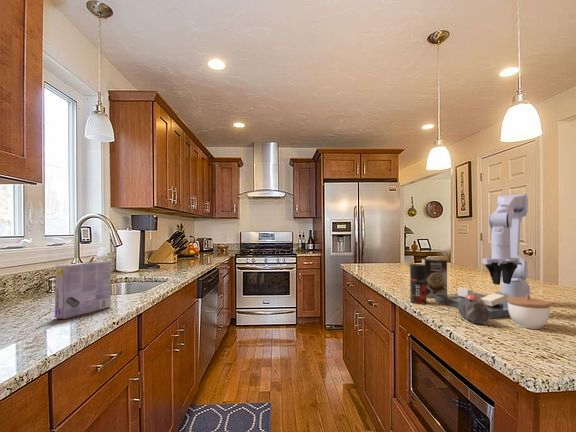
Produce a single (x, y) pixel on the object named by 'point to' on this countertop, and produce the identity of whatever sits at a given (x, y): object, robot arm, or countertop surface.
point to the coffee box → (435, 277)
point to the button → (472, 297)
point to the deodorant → (418, 283)
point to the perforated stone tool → (473, 310)
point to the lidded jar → (528, 311)
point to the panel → (493, 311)
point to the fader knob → (464, 292)
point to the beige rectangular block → (494, 298)
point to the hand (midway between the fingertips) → (501, 283)
